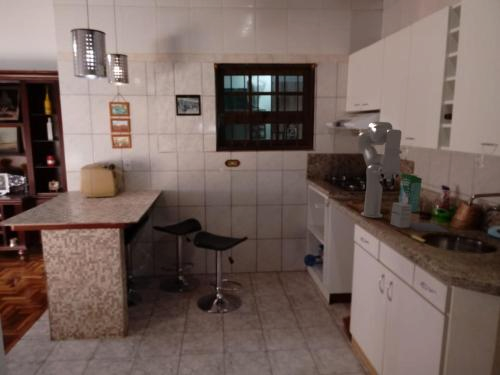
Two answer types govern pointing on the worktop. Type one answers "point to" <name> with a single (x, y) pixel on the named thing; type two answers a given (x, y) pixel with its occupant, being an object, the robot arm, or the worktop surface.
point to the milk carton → (410, 190)
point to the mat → (426, 227)
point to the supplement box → (401, 215)
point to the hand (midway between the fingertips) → (388, 185)
